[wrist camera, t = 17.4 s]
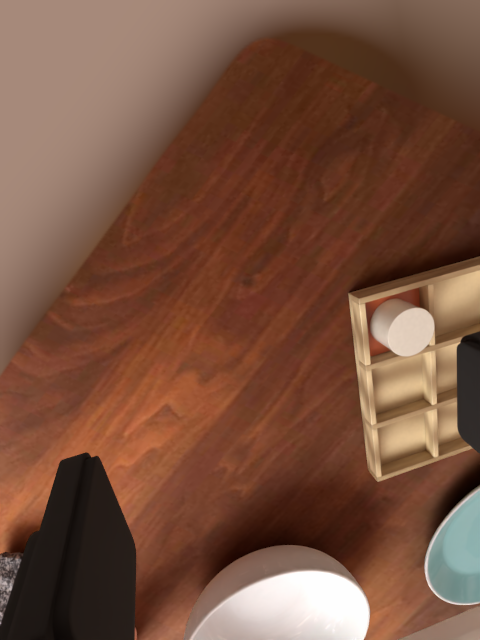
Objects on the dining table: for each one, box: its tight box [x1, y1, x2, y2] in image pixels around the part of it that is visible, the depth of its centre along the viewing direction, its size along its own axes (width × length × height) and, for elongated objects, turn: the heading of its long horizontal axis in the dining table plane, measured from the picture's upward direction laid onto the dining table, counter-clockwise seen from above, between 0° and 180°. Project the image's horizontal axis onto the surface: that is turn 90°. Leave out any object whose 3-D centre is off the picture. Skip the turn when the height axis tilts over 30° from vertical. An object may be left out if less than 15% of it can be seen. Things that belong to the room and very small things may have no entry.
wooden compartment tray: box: [348, 256, 480, 482], centre depth 43 cm, size 22×22×2 cm
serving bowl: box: [184, 545, 370, 640], centre depth 46 cm, size 21×21×7 cm
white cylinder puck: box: [370, 298, 434, 356], centre depth 38 cm, size 5×5×3 cm
